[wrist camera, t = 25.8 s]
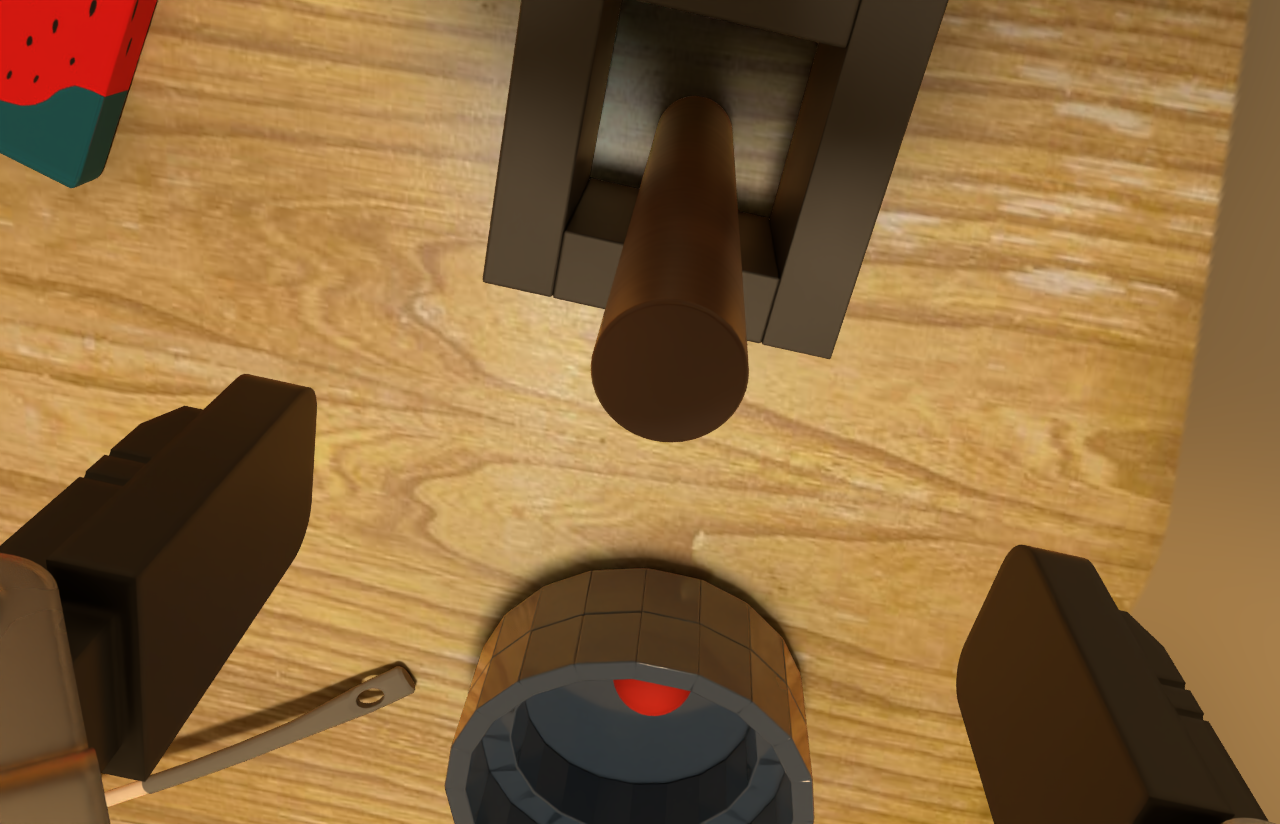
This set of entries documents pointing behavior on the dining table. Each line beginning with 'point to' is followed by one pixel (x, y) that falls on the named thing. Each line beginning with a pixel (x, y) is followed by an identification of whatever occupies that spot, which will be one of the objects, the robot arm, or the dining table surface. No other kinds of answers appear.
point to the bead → (650, 696)
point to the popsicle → (66, 81)
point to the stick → (678, 287)
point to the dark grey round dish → (632, 711)
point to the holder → (770, 249)
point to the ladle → (275, 735)
